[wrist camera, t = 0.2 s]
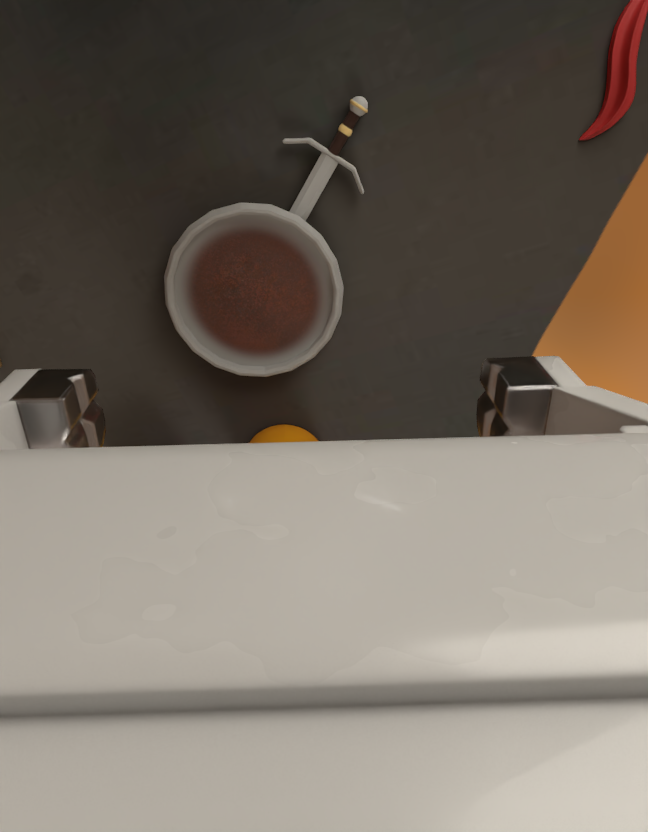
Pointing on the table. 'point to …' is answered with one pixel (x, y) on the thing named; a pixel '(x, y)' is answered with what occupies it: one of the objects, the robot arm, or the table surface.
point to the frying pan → (260, 277)
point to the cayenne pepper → (621, 67)
